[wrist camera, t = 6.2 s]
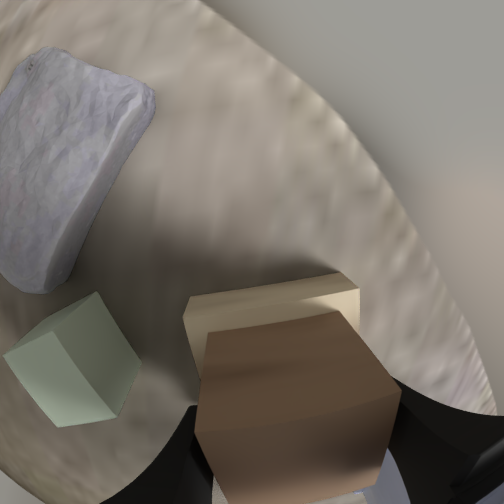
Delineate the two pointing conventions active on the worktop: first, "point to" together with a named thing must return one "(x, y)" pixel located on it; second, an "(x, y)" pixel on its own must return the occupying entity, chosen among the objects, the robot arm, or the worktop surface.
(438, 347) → the worktop surface
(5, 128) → the stone block
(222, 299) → the oak block
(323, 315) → the walnut cube
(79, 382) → the sage cube
